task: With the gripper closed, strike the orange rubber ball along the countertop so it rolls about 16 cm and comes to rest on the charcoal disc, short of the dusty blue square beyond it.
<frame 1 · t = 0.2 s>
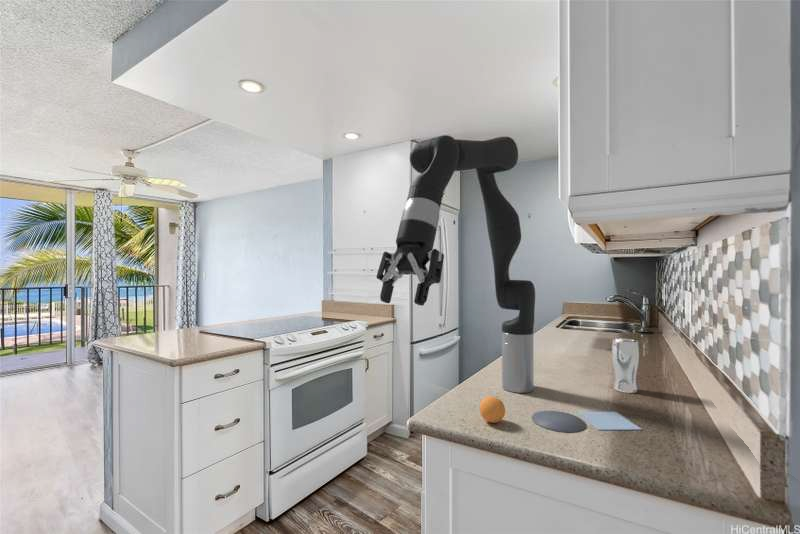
hand: (401, 303, 70), 31 cm above the worktop, tool tilted 20°, fingers open, 8 cm apart
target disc: (558, 421, 89), on the worktop
ball: (492, 409, 89), on the worktop
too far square: (607, 420, 89), on the worktop
beer glass: (625, 390, 111), on the worktop
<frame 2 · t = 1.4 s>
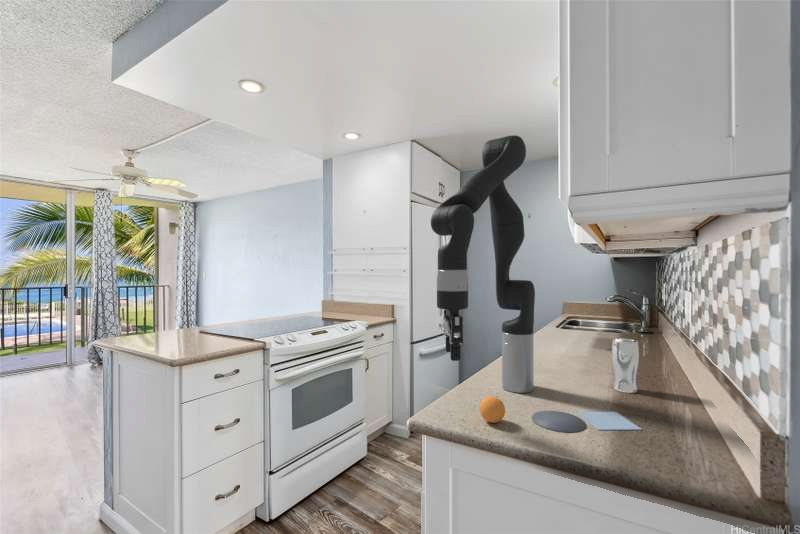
hand: (452, 355, 89), 16 cm above the worktop, tool pointing down, fingers open, 8 cm apart
nothing on the worktop moved.
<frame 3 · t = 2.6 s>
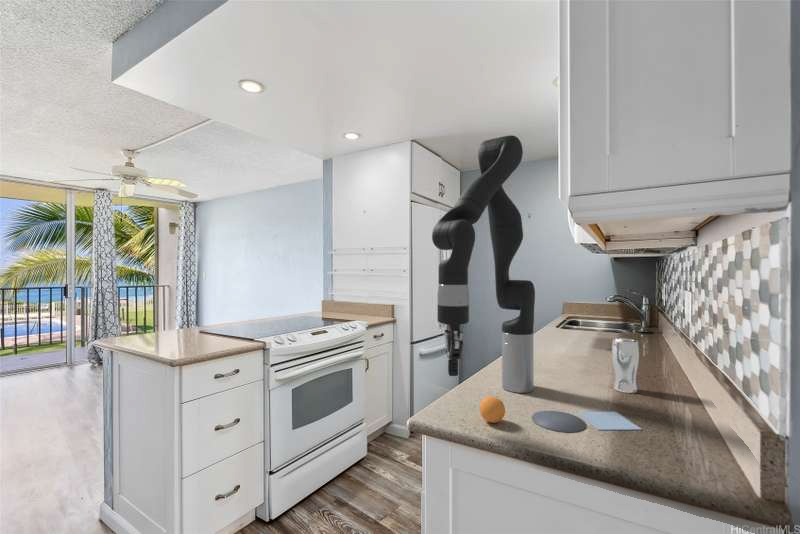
hand: (452, 374, 89), 11 cm above the worktop, tool pointing down, fingers closed
nothing on the worktop moved.
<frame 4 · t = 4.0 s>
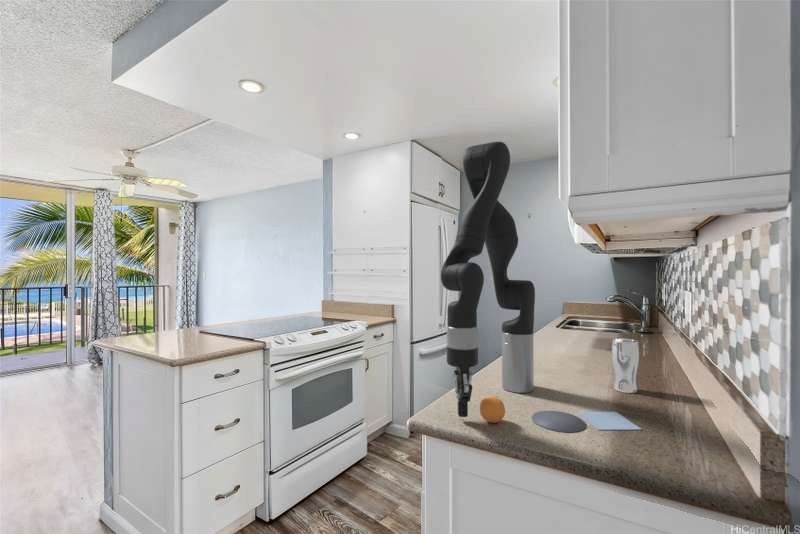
hand: (462, 415, 89), 1 cm above the worktop, tool pointing down, fingers closed
nothing on the worktop moved.
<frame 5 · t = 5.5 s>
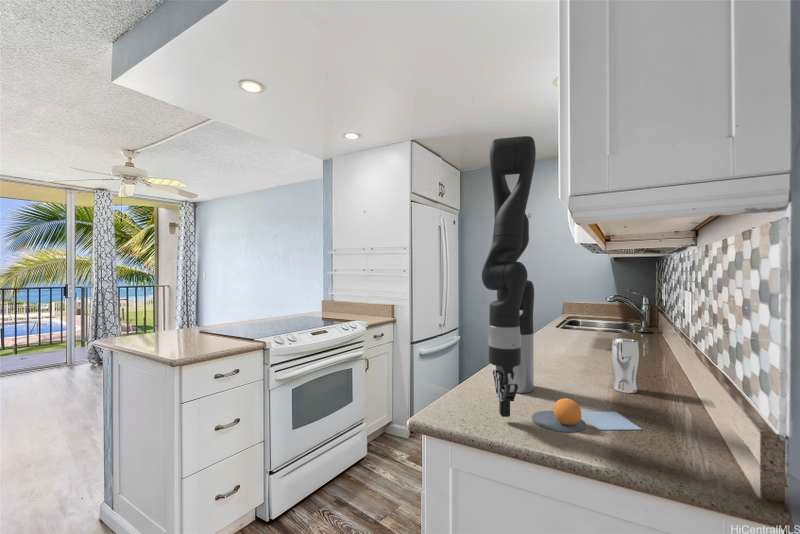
hand: (504, 415, 89), 2 cm above the worktop, tool pointing down, fingers closed
ball: (567, 411, 87), on the worktop
everything else where it was.
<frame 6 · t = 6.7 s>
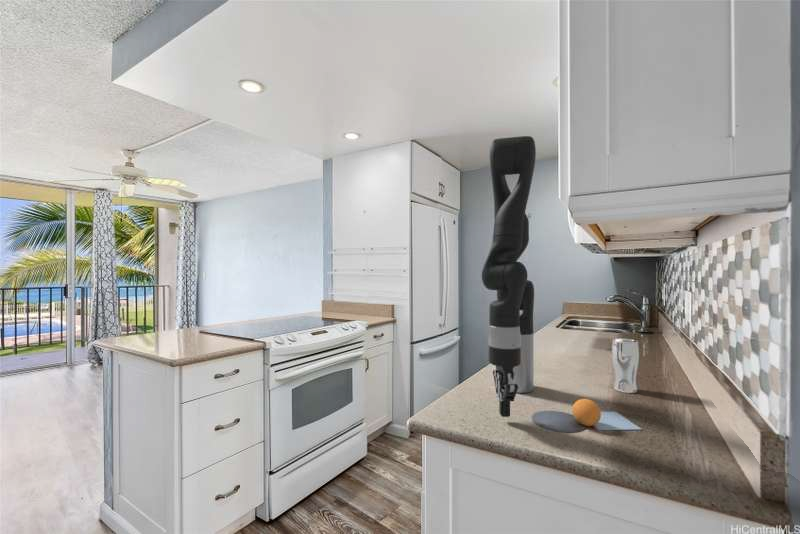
hand: (504, 415, 89), 2 cm above the worktop, tool pointing down, fingers closed
ball: (586, 412, 87), on the worktop
everything else where it was.
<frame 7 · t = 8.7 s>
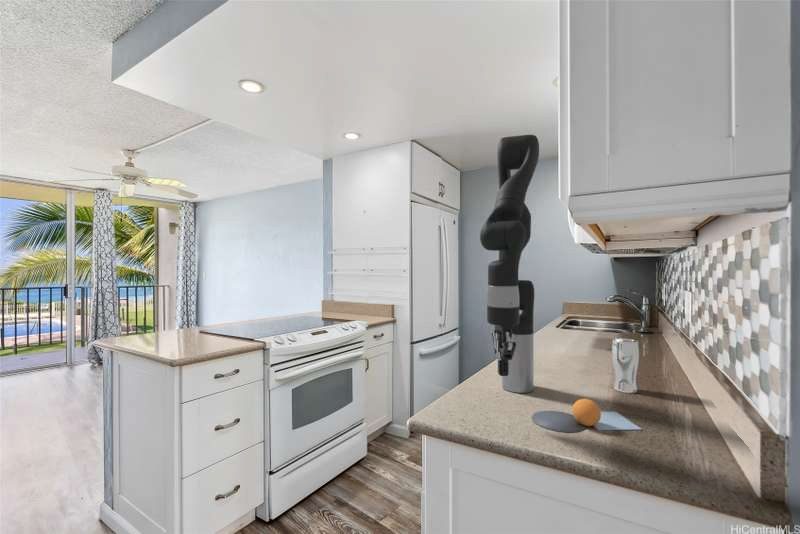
hand: (503, 374, 89), 11 cm above the worktop, tool pointing down, fingers closed
nothing on the worktop moved.
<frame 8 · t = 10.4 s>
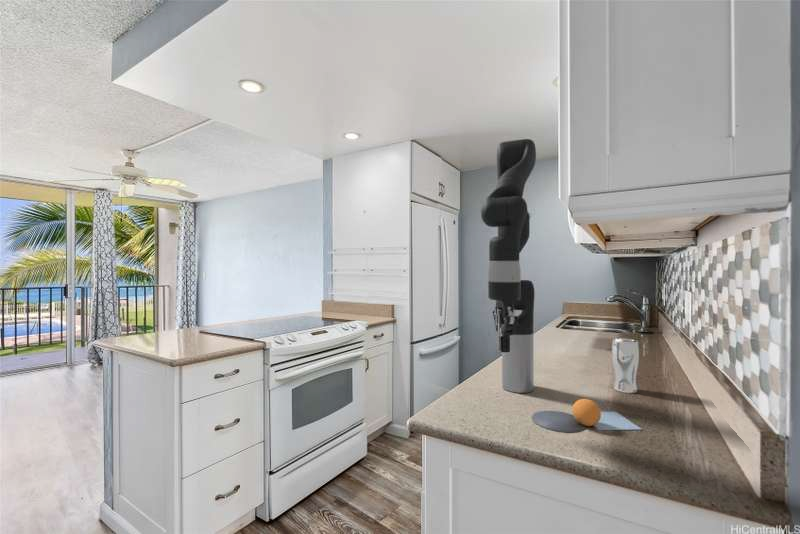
hand: (504, 351, 89), 17 cm above the worktop, tool pointing down, fingers closed
nothing on the worktop moved.
at the end: ball 6.1 cm from the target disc (horizontally); ball at rest at the end (0.0 cm/s); ball moved 21.9 cm from its start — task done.
